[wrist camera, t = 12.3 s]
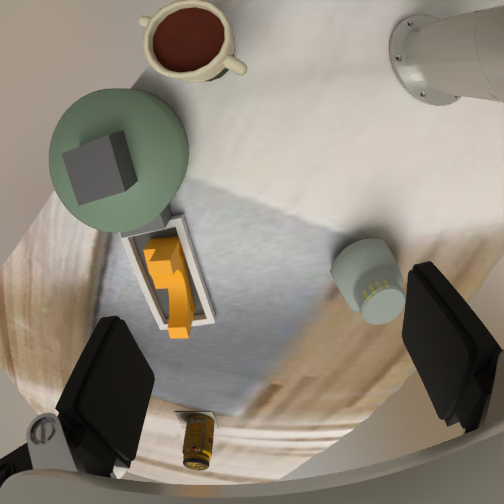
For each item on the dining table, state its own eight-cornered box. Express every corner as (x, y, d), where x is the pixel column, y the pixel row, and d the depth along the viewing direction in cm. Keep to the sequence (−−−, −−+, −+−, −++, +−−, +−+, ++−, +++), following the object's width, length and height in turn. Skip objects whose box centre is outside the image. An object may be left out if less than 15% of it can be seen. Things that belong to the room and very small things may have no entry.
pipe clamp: (150, 238, 41) (135, 262, 36) (180, 236, 41) (169, 260, 35) (167, 309, 47) (158, 338, 41) (195, 309, 47) (188, 338, 41)
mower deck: (170, 70, 32) (147, 63, 24) (235, 313, 47) (232, 356, 39) (55, 116, 33) (14, 125, 25) (135, 326, 49) (119, 366, 41)
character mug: (152, 62, 31) (107, 49, 19) (184, 14, 28) (153, -21, 17) (230, 103, 34) (220, 106, 22) (264, 55, 31) (271, 32, 19)
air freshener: (319, 251, 43) (336, 294, 34) (371, 221, 41) (400, 256, 32) (351, 303, 47) (369, 348, 38) (397, 277, 45) (424, 317, 36)
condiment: (218, 427, 63) (215, 472, 53) (183, 427, 64) (176, 471, 53) (212, 411, 60) (208, 459, 49) (174, 410, 60) (165, 457, 50)
